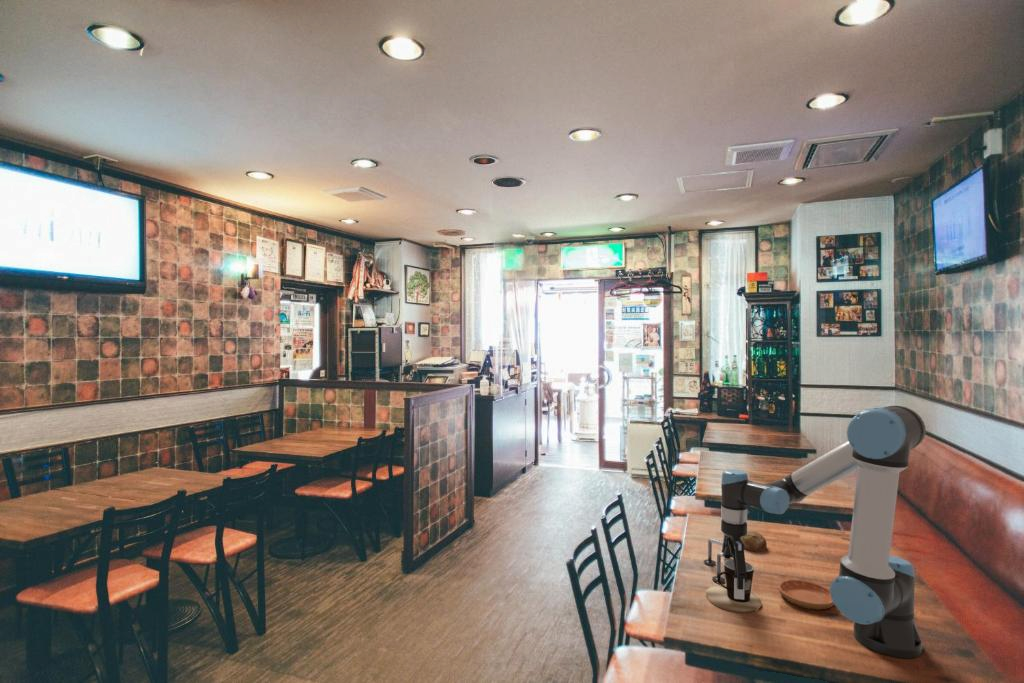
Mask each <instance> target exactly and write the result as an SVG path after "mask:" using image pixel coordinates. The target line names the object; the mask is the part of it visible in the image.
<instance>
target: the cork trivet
mask: <svg viewBox="0 0 1024 683" xmlns="http://www.w3.org/2000/svg"><path fill="white" fill-rule="evenodd" d="M723 585H724V586H725V587H727V586H726V584H723ZM705 593H706V594H705V595H706V596H705V597H706V599H707V601H708V602H710V603H711V604H712V603H713V604H712V605H714V606H715V607H718V608H720V609H722V610H725V609H726V611H729V612H732V613H733V612H735V613H743V614H744V613H747V612H748V613H754V612H757V611H759V610H760V609H761V608H762V599H761V597H759V595H757V594H756V593H755V592H753V591H751V593H750V600H749V601H748V602H736V601H733V600H731V599H730V598H728V595H727V589H725V588H724V587H722V586H721V585H720V584H718V585H717V584H716V585H713V586H710V587H708V588H707V589H706V592H705ZM760 607H761V608H760ZM759 608H760V609H759ZM758 609H759V610H758ZM756 610H757V611H756ZM753 611H754V612H753Z"/></svg>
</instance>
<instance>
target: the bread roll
mask: <svg viewBox="0 0 1024 683" xmlns="http://www.w3.org/2000/svg"><path fill="white" fill-rule="evenodd" d="M740 540H741V541H742V543H743V544H744V548H745V549H744V550H747V549H748V550H747V551H750V550H752V551H751V552H762V551H761V550H763V551H765V550H766V549H767V546H768V545H767V541H766V537H764V536H763V535H762V534H761V533H759V532H758V531H755V530H747V534H746V535H745V536H742V537H740ZM764 549H765V550H764Z"/></svg>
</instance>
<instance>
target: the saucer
mask: <svg viewBox="0 0 1024 683" xmlns="http://www.w3.org/2000/svg"><path fill="white" fill-rule="evenodd" d="M778 591H779V593H780V594H781V595H782V596H783V597H784V598H785V600H787V601H788V602H789V601H790V602H789V603H791V604H793V605H795V604H796V605H795V606H797V605H798V606H797V607H800V606H801V607H800V608H803V607H804V608H803V609H807V608H809V609H808V610H813V609H816V611H823V610H822V609H824V610H827V608H828V609H829V608H831V607H833V606H835V605H834V603H833V601H832V598H831V595H830V588H828V587H826V586H824V585H822V584H819V583H816V582H814V581H813V582H812V581H810V580H809V581H808V580H804V579H787V580H782V581H781V582H780V583H778Z"/></svg>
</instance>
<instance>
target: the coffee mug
mask: <svg viewBox="0 0 1024 683" xmlns="http://www.w3.org/2000/svg"><path fill="white" fill-rule="evenodd" d="M745 564H746V574H747V579H744V599H735V598H734V578H733V576H734V575H735V569H734V562H733V560H727V561H725V562H724V561H723V568H725V572H723V571H721V573H720V574H719V575H718V578H717V580H718V583H717V584H718V585H721V586H722V587H724V588H725V589H727V595H728V598H730V599H731V600H733V601H736V602H748V601H749V600H750V593H751V592H752V586H753V578H754V572H755V567H754V565H753V564H751V563H749V562H747V561H745ZM723 574H725V577H726V579H725V584H723V583H721V582H720V576H721V577H722V576H723ZM724 585H726V586H727V587H725V586H724Z"/></svg>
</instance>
